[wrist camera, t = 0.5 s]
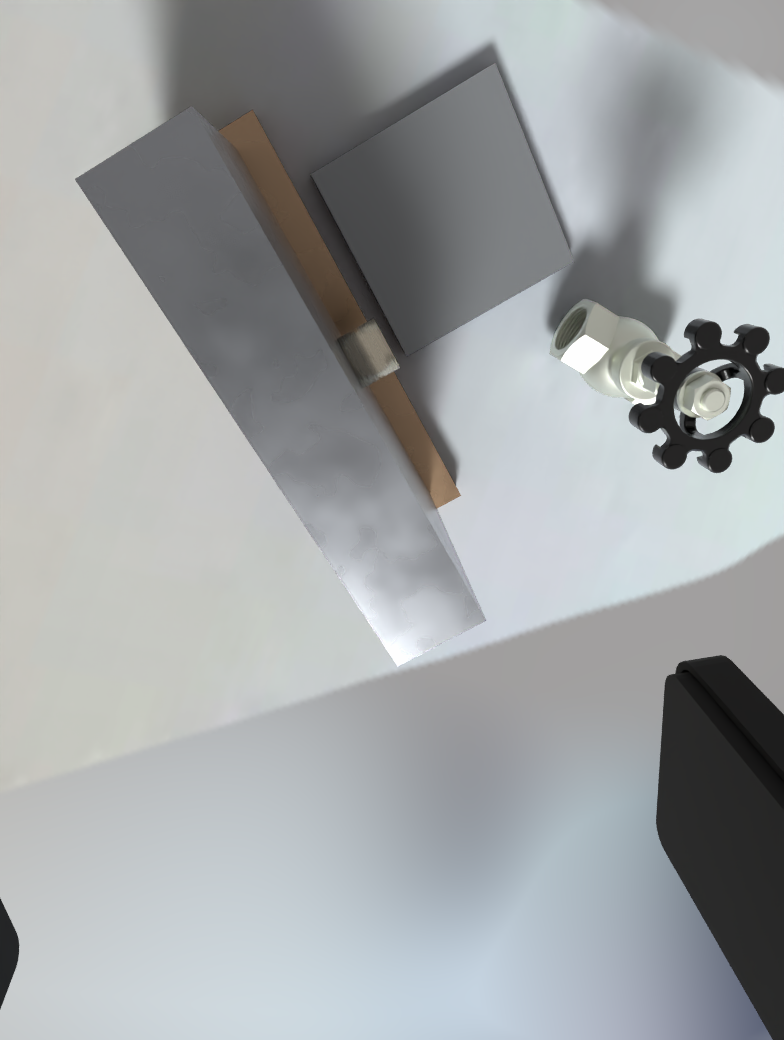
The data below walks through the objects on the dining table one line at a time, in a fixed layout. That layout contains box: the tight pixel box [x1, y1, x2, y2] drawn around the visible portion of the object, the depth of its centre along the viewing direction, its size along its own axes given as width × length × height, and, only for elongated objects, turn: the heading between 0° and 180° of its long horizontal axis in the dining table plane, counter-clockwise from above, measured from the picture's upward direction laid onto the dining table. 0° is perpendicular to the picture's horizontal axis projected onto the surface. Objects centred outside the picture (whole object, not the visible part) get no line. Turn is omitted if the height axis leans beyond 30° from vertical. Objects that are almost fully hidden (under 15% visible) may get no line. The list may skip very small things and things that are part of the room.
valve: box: [550, 299, 784, 473], centre depth 35 cm, size 7×7×12 cm
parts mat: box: [311, 63, 574, 356], centre depth 36 cm, size 10×10×1 cm
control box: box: [75, 106, 486, 666], centre depth 31 cm, size 7×22×16 cm, turn 28°
